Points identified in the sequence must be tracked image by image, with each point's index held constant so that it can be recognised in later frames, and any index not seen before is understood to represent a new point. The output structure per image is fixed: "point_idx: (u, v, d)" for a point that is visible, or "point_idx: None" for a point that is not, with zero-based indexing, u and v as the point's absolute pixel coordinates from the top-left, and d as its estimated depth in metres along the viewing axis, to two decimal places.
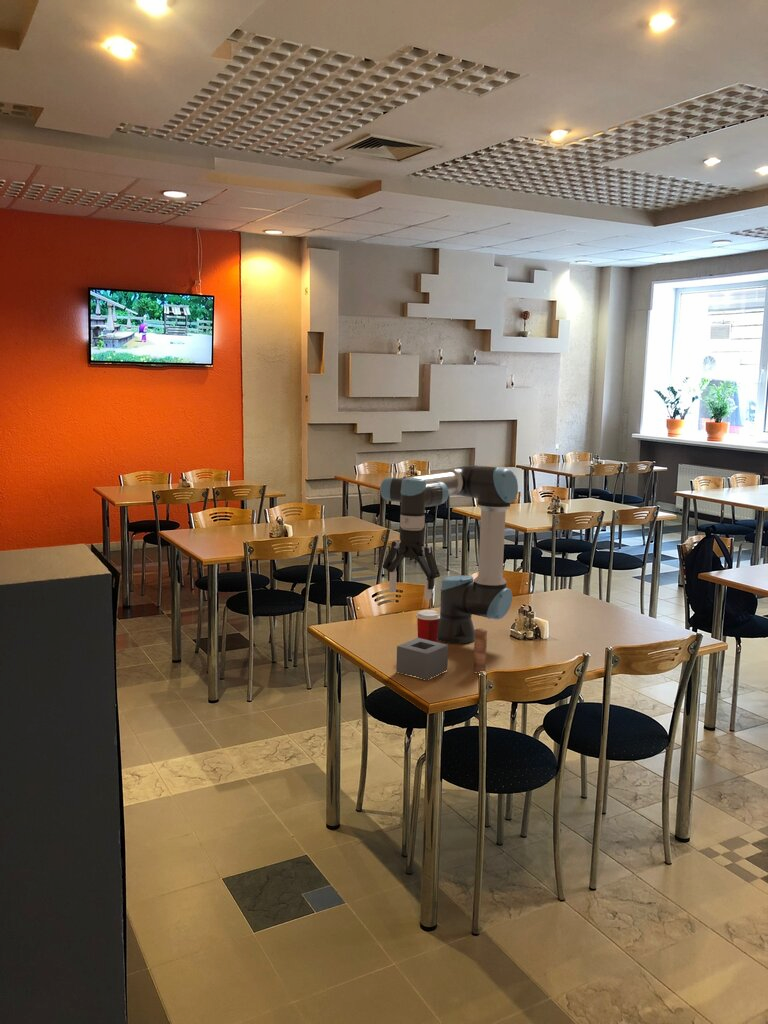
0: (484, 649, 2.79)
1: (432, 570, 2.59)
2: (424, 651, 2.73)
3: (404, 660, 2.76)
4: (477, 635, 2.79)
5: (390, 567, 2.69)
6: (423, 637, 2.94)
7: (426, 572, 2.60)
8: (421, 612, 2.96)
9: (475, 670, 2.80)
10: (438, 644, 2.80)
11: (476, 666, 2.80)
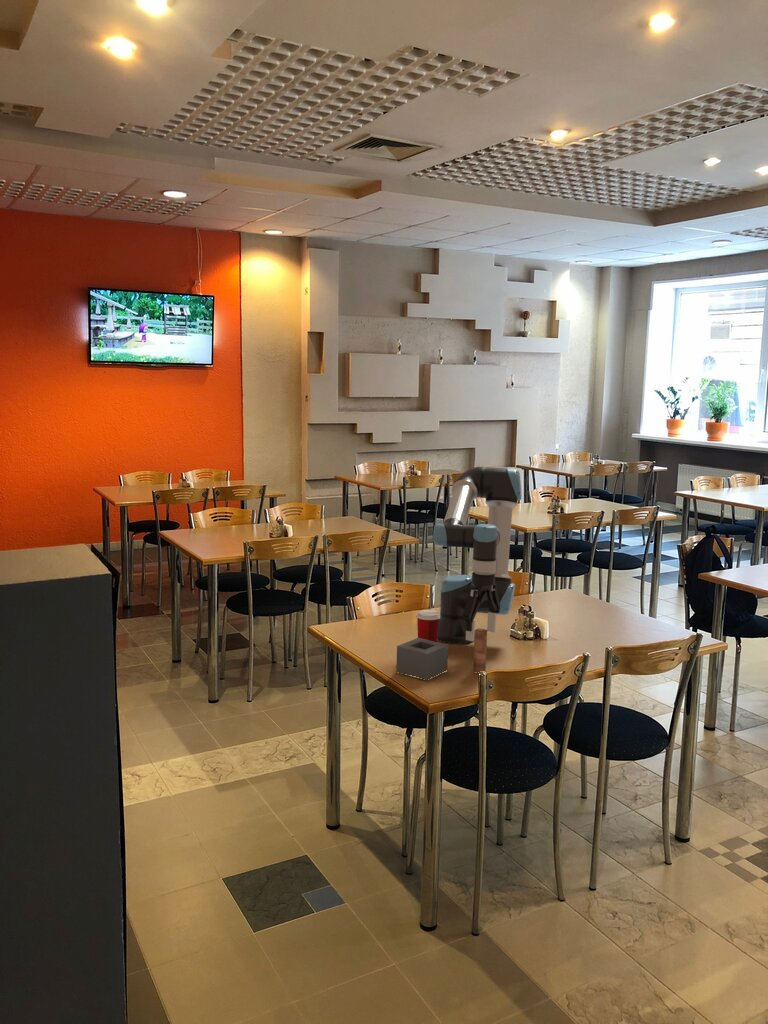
0: (484, 649, 2.79)
1: None
2: (424, 651, 2.73)
3: (404, 660, 2.76)
4: (477, 635, 2.78)
5: None
6: (423, 637, 2.94)
7: None
8: (421, 612, 2.96)
9: (475, 670, 2.80)
10: (438, 644, 2.80)
11: (476, 666, 2.80)
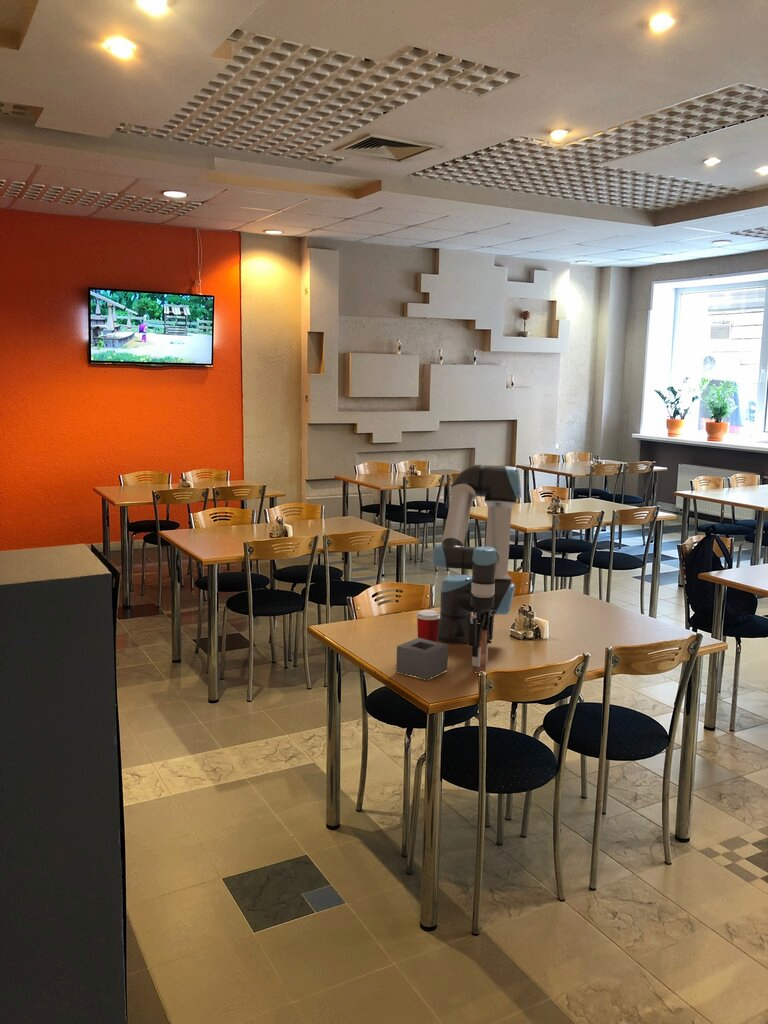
0: (484, 649, 2.79)
1: None
2: (424, 651, 2.73)
3: (404, 660, 2.76)
4: None
5: None
6: (423, 637, 2.94)
7: None
8: (421, 612, 2.96)
9: (475, 670, 2.80)
10: (438, 644, 2.80)
11: (476, 666, 2.80)
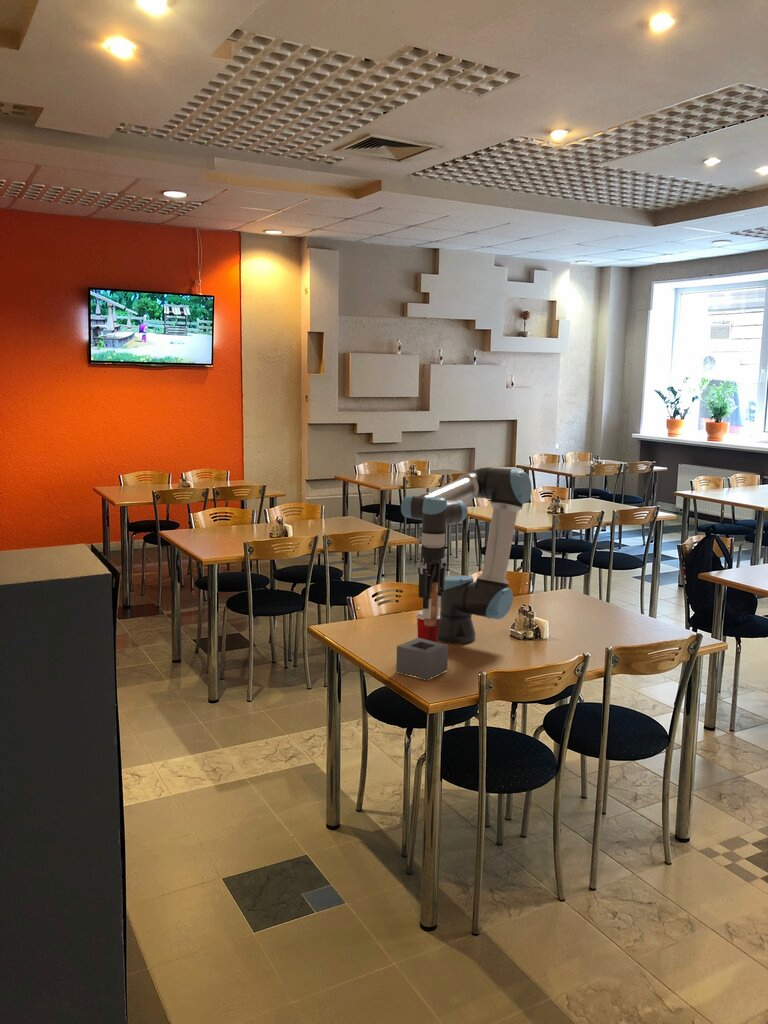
0: (435, 601, 2.75)
1: None
2: (424, 651, 2.73)
3: (404, 660, 2.76)
4: None
5: None
6: (423, 637, 2.94)
7: None
8: (421, 612, 2.96)
9: (426, 623, 2.76)
10: (438, 644, 2.80)
11: (427, 619, 2.75)
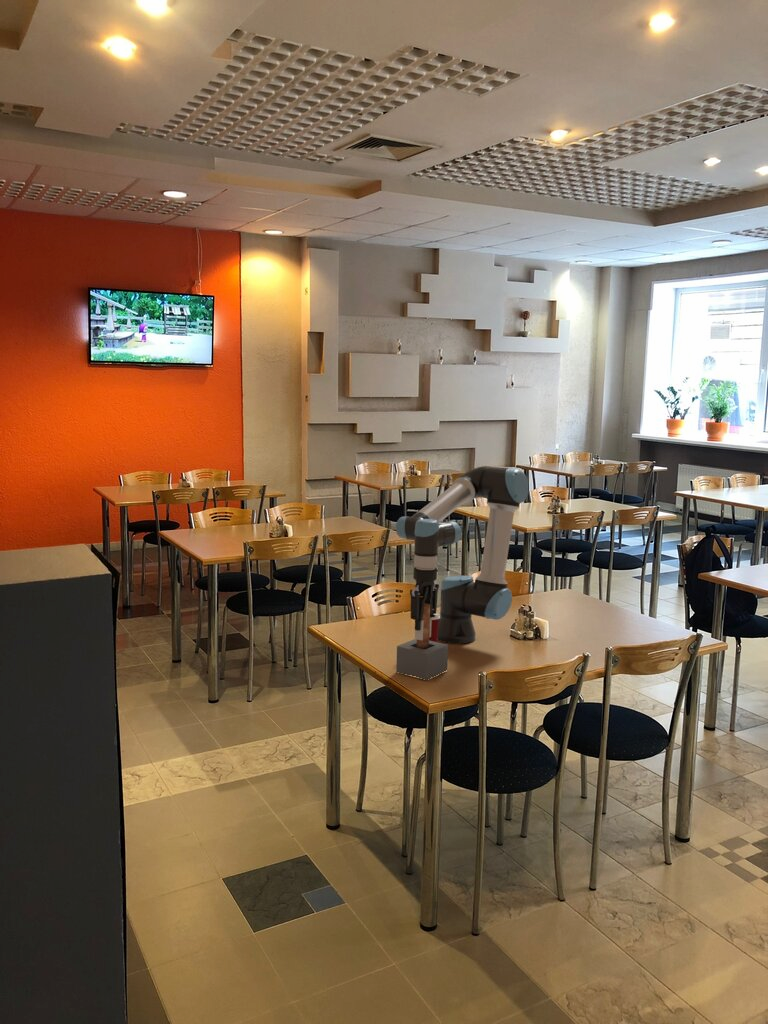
0: (427, 623, 2.76)
1: None
2: (424, 651, 2.73)
3: (404, 660, 2.76)
4: None
5: None
6: None
7: None
8: None
9: (418, 645, 2.77)
10: (438, 644, 2.80)
11: (419, 641, 2.77)
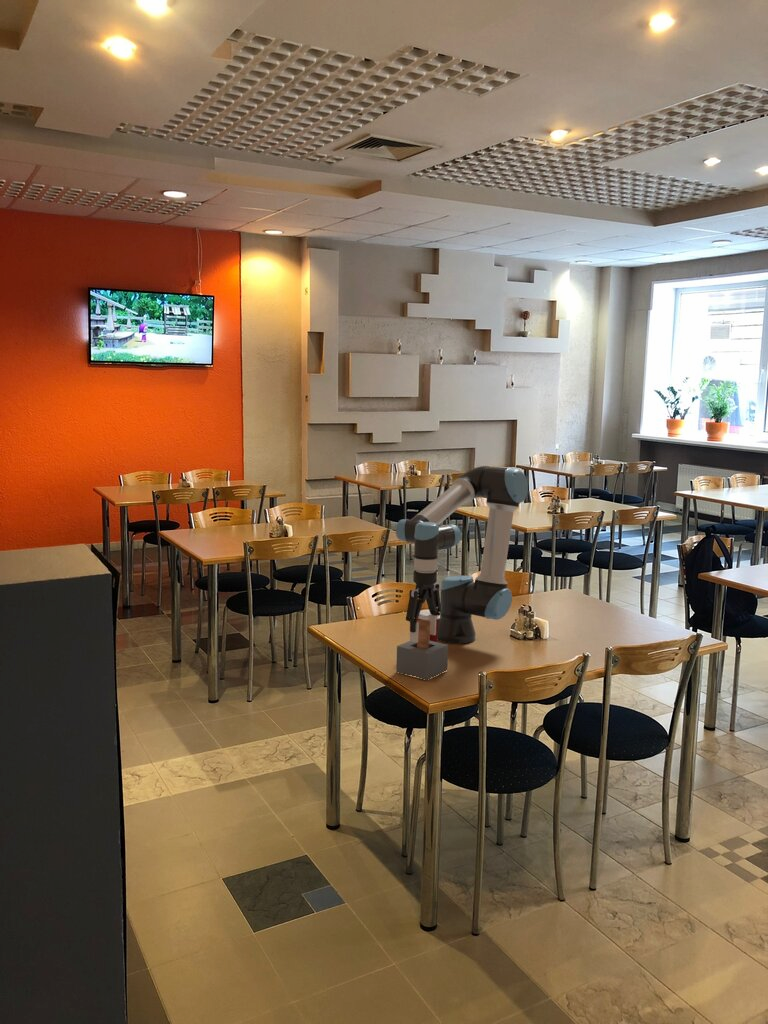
0: (427, 640, 2.77)
1: None
2: (424, 651, 2.73)
3: (404, 660, 2.76)
4: (420, 625, 2.76)
5: None
6: None
7: None
8: (421, 612, 2.96)
9: None
10: (438, 644, 2.80)
11: None
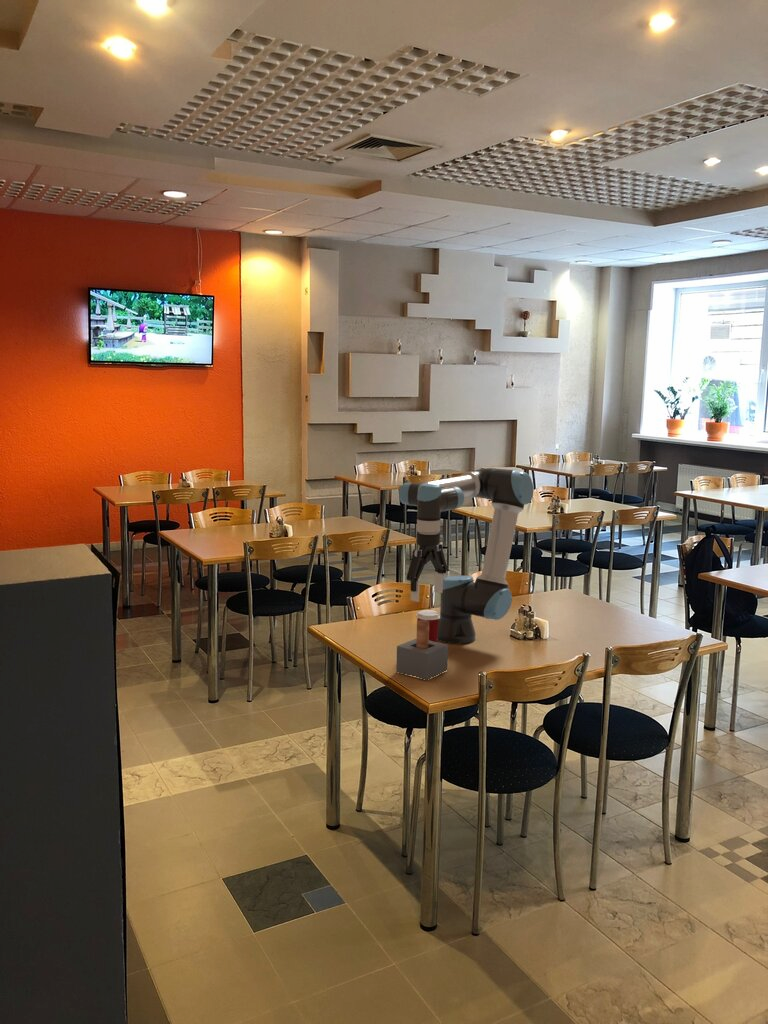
0: (426, 640, 2.77)
1: None
2: (424, 651, 2.73)
3: (404, 660, 2.76)
4: (419, 626, 2.76)
5: None
6: None
7: None
8: (421, 612, 2.96)
9: None
10: (438, 644, 2.80)
11: None
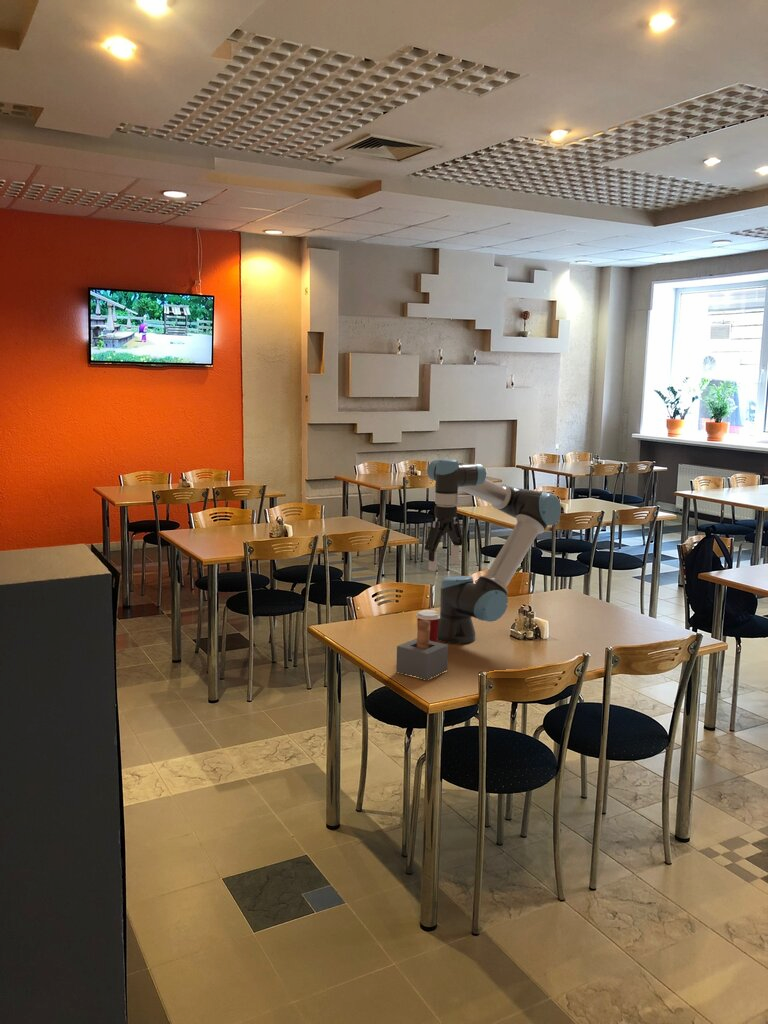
0: (427, 641, 2.77)
1: None
2: (424, 651, 2.73)
3: (404, 660, 2.76)
4: (420, 626, 2.76)
5: None
6: None
7: None
8: (421, 612, 2.96)
9: None
10: (438, 644, 2.80)
11: None
